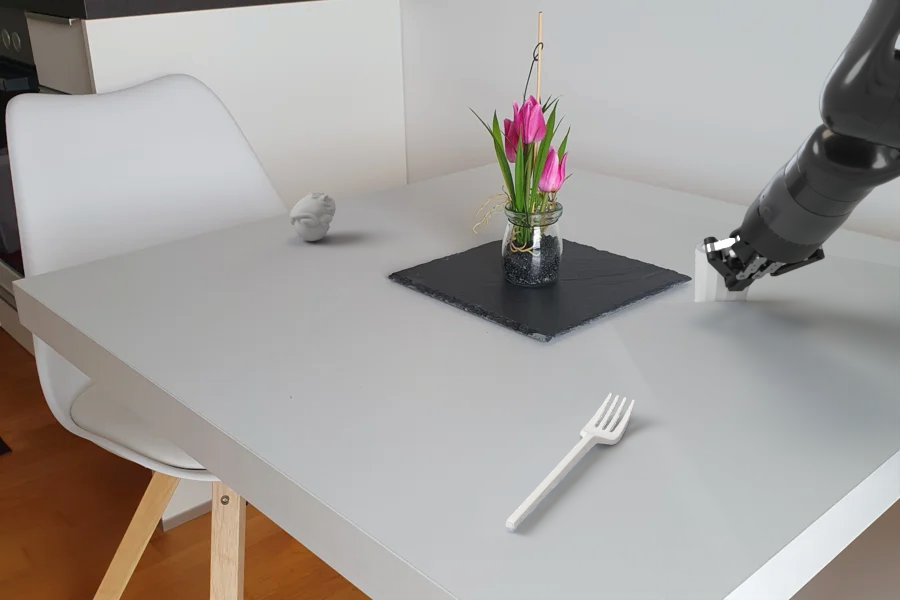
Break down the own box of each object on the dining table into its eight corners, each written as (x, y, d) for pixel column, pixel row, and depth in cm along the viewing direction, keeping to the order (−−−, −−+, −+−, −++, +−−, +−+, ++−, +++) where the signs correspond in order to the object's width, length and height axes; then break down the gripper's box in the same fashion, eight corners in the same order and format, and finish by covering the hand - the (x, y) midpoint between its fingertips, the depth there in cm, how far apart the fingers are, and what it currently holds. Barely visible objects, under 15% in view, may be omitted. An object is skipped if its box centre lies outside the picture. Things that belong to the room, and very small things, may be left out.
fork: (489, 524, 61) (490, 502, 60) (604, 409, 76) (605, 391, 75) (529, 540, 59) (530, 518, 58) (638, 419, 74) (640, 401, 74)
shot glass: (726, 320, 94) (734, 261, 91) (677, 302, 99) (682, 246, 97) (761, 306, 98) (770, 249, 95) (712, 290, 103) (718, 235, 100)
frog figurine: (346, 238, 121) (344, 192, 119) (307, 250, 117) (304, 201, 114) (320, 230, 125) (317, 184, 123) (281, 240, 120) (278, 193, 118)
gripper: (858, 172, 80) (782, 253, 96) (724, 174, 79) (670, 255, 95) (878, 242, 77) (796, 313, 93) (739, 244, 77) (680, 315, 92)
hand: (732, 283), depth 94 cm, fingers closed
